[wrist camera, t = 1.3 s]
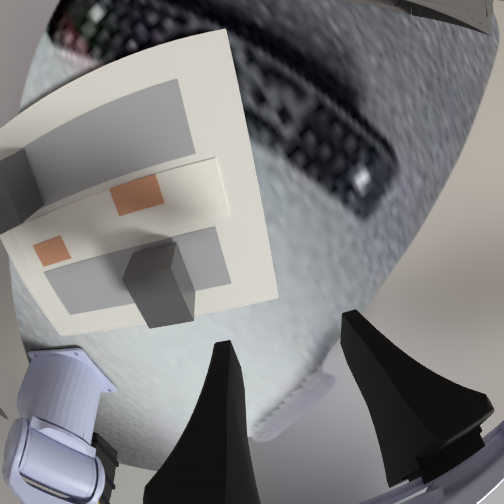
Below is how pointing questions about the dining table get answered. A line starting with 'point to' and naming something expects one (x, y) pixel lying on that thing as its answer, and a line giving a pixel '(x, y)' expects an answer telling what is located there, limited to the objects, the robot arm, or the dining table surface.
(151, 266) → the dark grey block
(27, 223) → the switch panel
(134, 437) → the dining table surface
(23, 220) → the tab
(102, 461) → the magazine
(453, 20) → the electrical switch
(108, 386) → the robot arm
